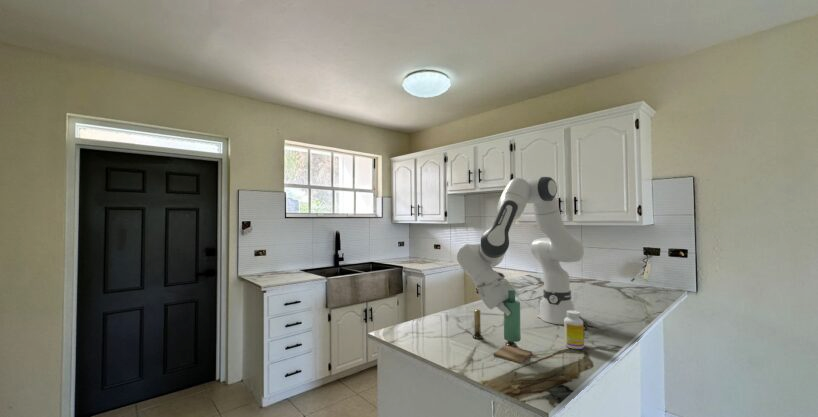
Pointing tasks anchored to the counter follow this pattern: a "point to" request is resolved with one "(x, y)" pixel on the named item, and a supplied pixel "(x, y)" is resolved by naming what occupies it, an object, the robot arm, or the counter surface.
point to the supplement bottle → (573, 330)
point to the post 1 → (477, 325)
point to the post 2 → (510, 344)
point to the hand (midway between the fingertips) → (513, 312)
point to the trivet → (513, 354)
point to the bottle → (512, 319)
